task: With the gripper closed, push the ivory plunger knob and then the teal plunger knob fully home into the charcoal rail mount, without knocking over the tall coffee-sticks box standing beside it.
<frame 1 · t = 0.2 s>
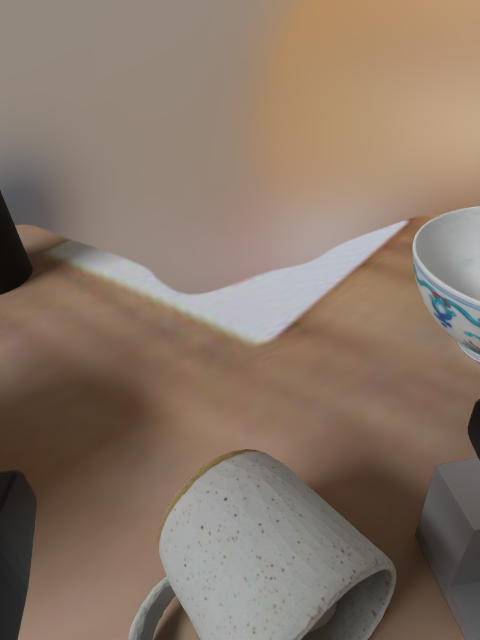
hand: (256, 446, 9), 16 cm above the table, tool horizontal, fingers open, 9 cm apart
ceramic mug: (251, 630, 21), on the table
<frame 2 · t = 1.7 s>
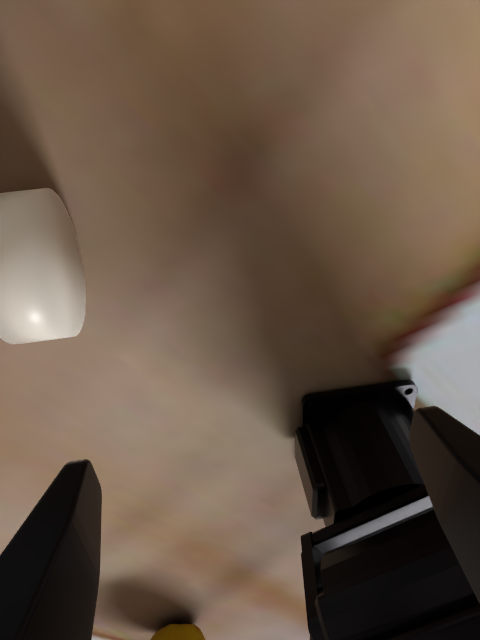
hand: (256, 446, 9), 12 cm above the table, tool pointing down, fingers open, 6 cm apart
apple: (174, 622, 39), on the table
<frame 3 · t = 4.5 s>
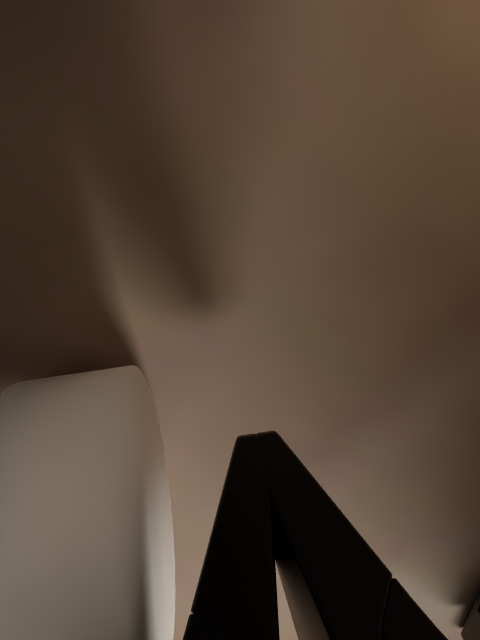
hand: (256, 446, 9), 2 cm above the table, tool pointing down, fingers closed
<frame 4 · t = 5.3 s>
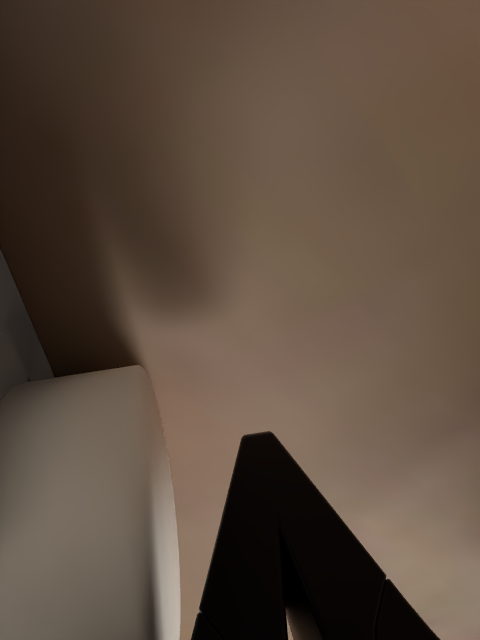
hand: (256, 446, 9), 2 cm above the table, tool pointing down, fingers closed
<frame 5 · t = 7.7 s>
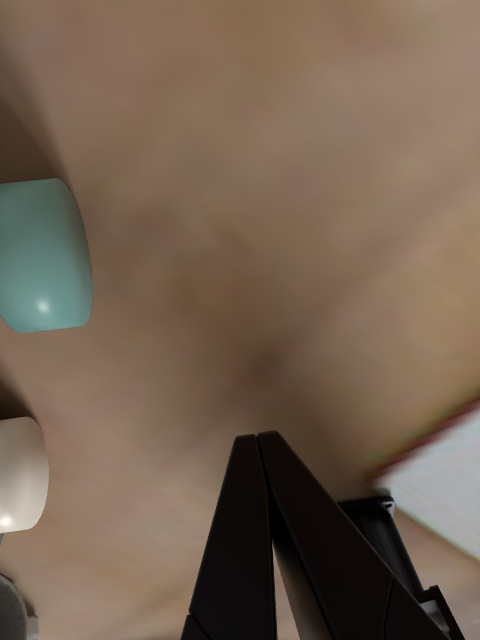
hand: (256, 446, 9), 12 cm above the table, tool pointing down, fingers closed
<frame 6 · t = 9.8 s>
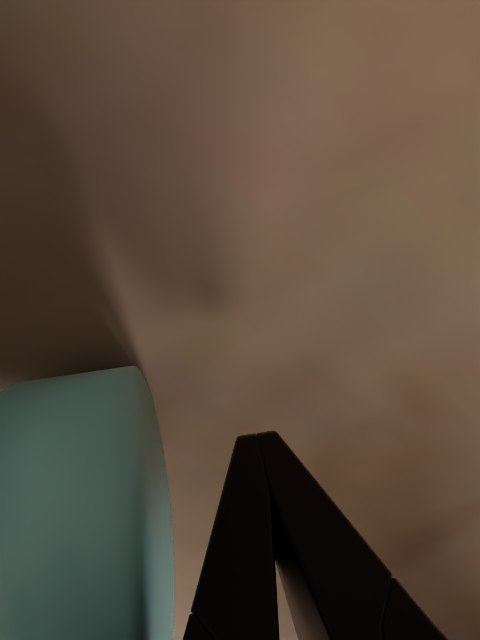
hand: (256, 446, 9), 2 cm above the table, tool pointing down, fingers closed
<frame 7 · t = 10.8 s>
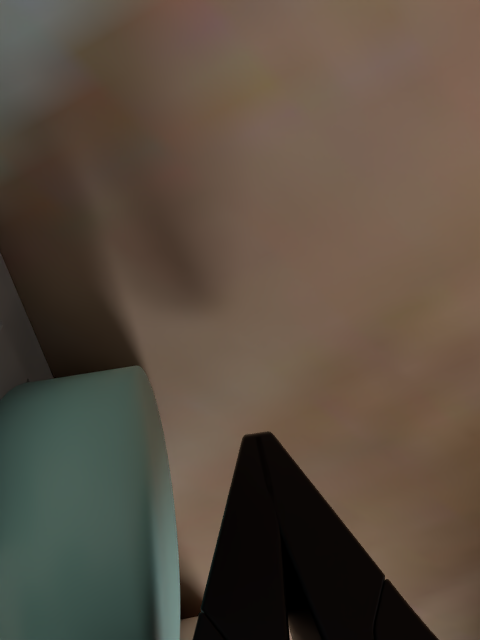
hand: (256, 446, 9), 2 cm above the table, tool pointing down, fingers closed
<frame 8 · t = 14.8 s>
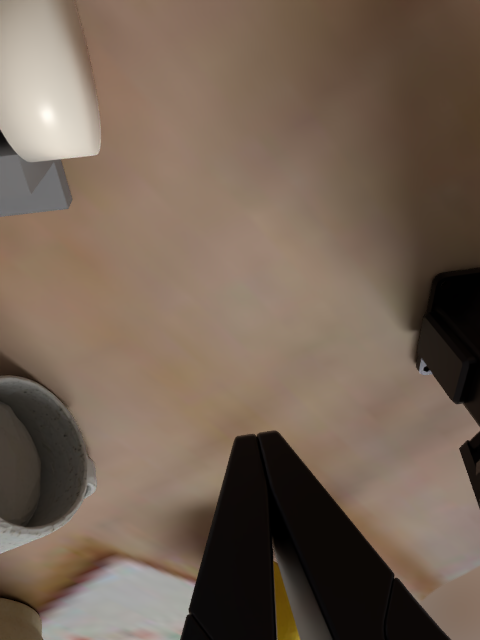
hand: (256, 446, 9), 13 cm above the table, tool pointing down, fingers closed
apple: (250, 560, 37), on the table
ceramic mug: (19, 430, 26), on the table
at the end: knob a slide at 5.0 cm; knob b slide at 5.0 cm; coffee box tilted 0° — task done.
